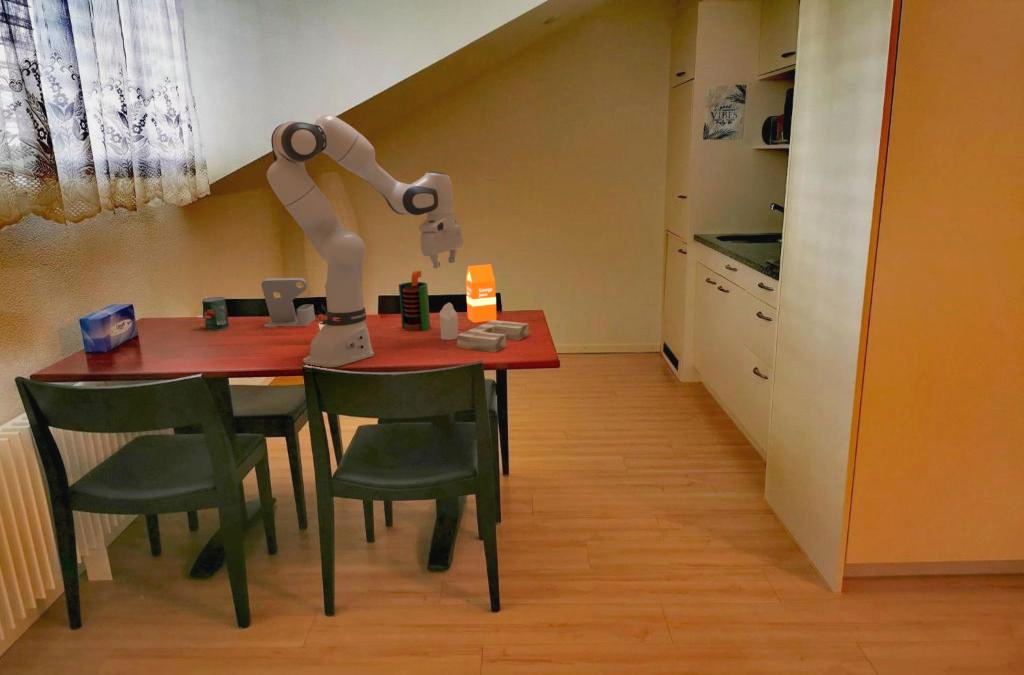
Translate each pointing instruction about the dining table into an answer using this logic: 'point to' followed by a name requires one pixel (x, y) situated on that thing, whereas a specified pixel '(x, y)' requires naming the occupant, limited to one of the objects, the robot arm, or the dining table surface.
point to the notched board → (492, 335)
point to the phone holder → (286, 302)
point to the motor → (414, 304)
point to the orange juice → (481, 293)
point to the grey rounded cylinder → (448, 322)
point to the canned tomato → (215, 313)
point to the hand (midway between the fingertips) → (444, 265)
